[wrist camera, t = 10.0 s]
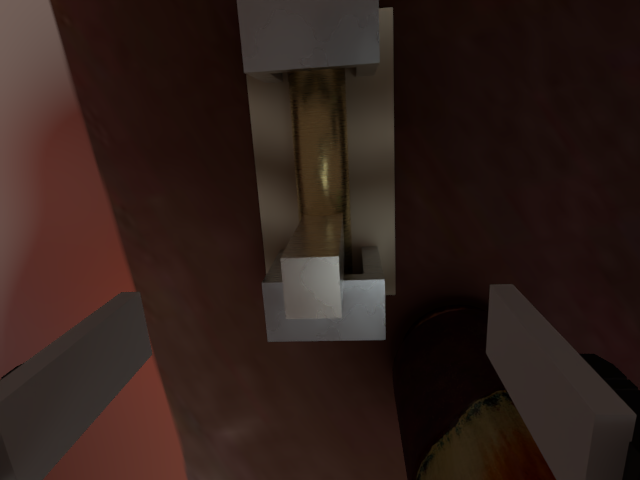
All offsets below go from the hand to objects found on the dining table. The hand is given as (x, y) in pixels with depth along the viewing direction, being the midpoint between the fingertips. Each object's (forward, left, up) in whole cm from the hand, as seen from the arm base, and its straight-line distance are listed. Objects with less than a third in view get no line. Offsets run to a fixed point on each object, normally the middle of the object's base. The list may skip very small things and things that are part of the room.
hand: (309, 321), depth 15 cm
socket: (+4, 0, -16) cm, 16 cm away
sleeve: (-12, 0, -16) cm, 20 cm away
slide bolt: (-4, 0, -15) cm, 16 cm away
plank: (-4, 0, -17) cm, 17 cm away
